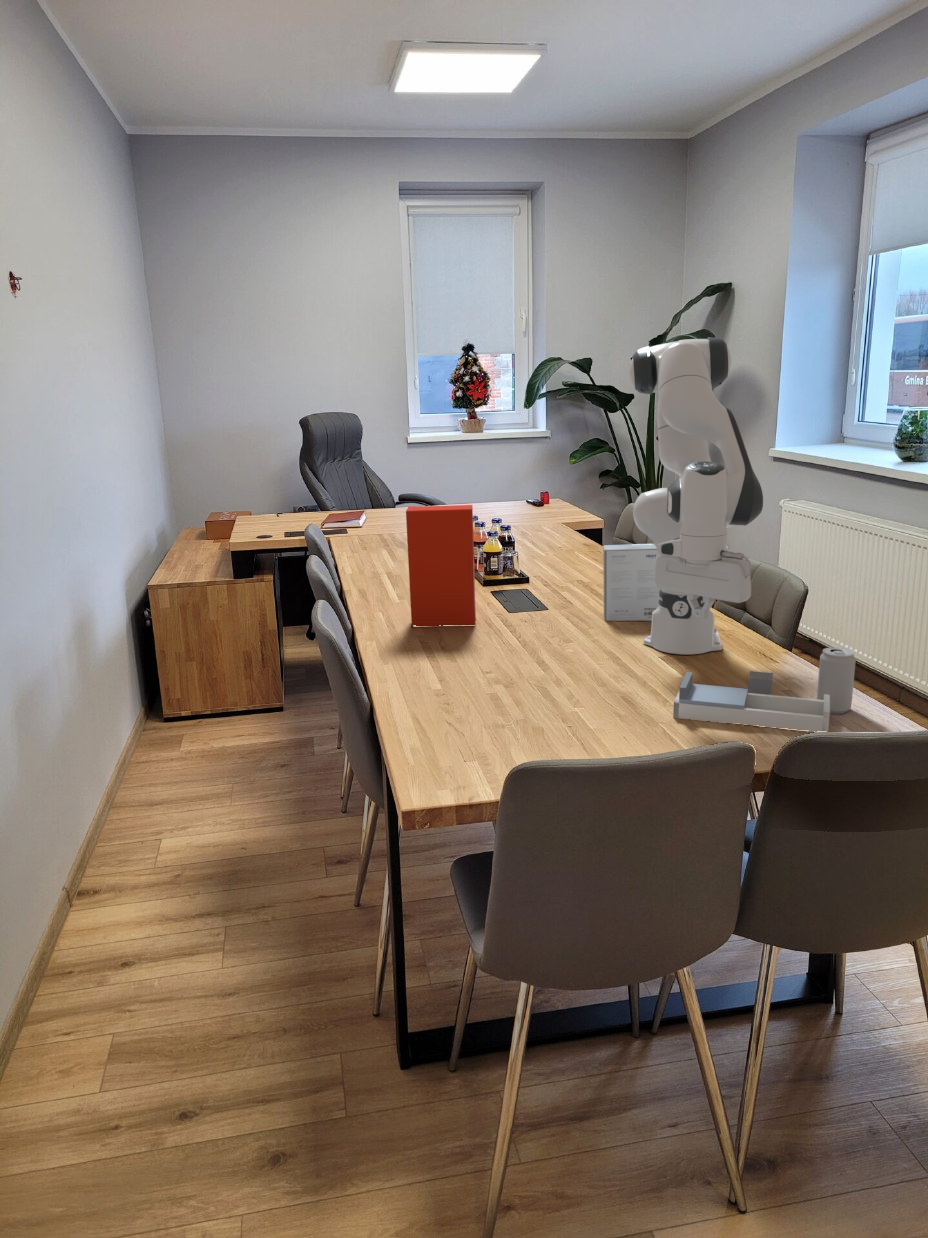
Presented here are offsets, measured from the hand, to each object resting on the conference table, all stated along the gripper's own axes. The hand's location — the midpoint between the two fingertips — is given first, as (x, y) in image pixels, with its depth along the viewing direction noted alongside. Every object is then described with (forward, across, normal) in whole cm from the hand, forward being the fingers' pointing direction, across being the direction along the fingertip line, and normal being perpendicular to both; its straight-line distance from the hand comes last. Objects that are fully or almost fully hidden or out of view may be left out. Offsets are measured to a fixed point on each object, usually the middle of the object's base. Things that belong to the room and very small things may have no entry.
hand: (700, 617), depth 174 cm
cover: (+15, -5, +2) cm, 16 cm away
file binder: (+18, +85, -3) cm, 87 cm away
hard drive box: (+18, +51, -42) cm, 69 cm away
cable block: (+18, -7, -12) cm, 23 cm away
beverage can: (+19, -20, -17) cm, 32 cm away
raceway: (+18, -11, -2) cm, 22 cm away
